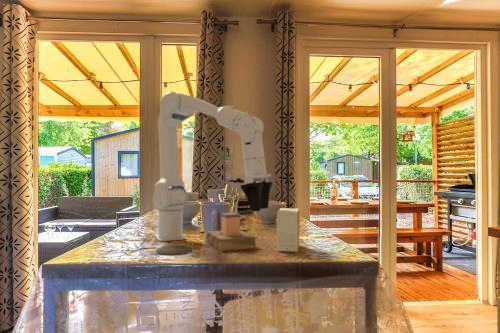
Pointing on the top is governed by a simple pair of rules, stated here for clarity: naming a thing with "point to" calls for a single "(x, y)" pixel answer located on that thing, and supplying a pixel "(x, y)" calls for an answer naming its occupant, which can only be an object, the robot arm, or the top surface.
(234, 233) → the plug
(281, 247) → the small box
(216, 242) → the tan square socket
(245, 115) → the robot arm
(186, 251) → the coaster
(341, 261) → the top surface
